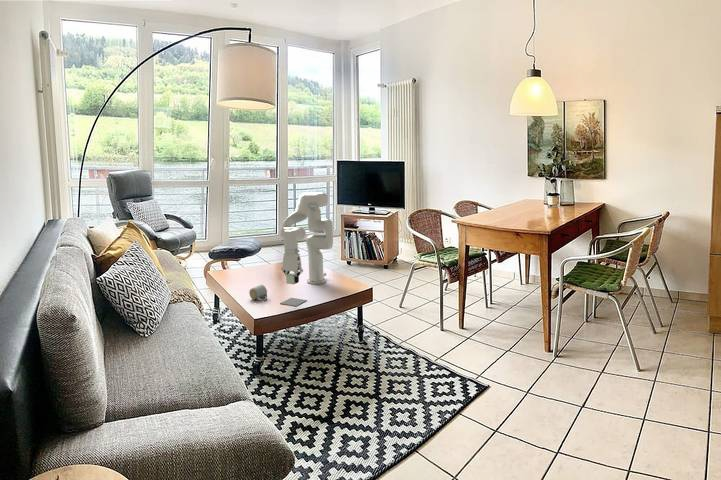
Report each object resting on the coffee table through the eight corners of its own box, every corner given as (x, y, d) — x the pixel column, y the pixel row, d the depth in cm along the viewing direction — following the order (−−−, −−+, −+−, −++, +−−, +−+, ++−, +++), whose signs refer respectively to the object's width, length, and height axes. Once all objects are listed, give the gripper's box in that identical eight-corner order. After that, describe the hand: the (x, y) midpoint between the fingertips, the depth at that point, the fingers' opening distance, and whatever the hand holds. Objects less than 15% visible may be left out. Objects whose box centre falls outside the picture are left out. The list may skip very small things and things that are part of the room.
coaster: (291, 298, 280) (291, 297, 280) (306, 300, 275) (306, 300, 275) (280, 303, 270) (280, 303, 270) (296, 306, 265) (296, 305, 265)
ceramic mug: (248, 299, 280) (248, 286, 279) (259, 295, 286) (259, 283, 285) (259, 302, 273) (259, 290, 272) (271, 299, 279) (270, 286, 278)
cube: (291, 281, 273) (291, 272, 272) (298, 282, 271) (298, 273, 270) (286, 283, 269) (285, 274, 268) (293, 284, 267) (293, 275, 266)
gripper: (307, 251, 266) (308, 282, 269) (282, 248, 274) (284, 279, 277) (300, 253, 259) (301, 285, 263) (274, 251, 267) (276, 282, 271)
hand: (292, 282), depth 270 cm, fingers closed on cube, 5 cm apart
